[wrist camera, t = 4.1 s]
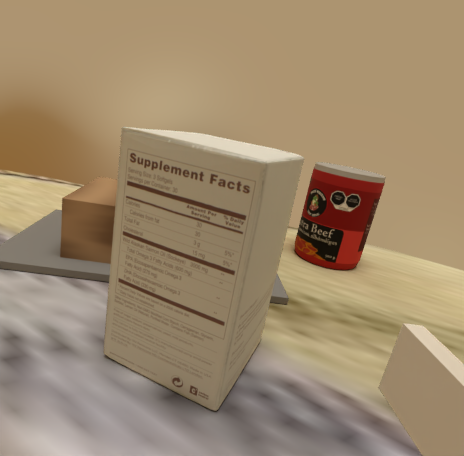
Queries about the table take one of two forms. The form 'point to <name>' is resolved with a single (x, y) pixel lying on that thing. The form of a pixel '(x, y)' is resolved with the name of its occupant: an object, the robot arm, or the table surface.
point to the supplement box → (195, 256)
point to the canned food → (337, 215)
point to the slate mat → (49, 261)
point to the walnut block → (89, 221)
